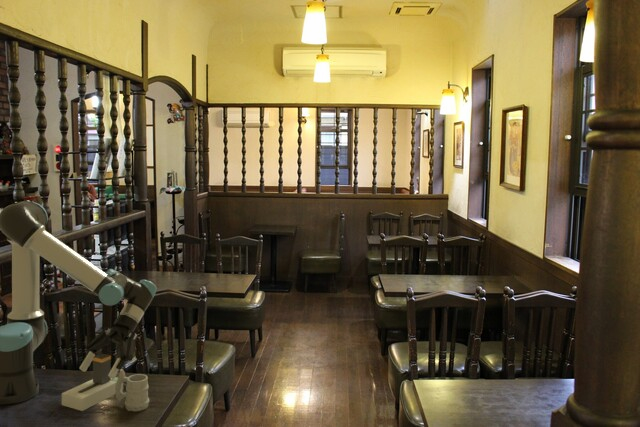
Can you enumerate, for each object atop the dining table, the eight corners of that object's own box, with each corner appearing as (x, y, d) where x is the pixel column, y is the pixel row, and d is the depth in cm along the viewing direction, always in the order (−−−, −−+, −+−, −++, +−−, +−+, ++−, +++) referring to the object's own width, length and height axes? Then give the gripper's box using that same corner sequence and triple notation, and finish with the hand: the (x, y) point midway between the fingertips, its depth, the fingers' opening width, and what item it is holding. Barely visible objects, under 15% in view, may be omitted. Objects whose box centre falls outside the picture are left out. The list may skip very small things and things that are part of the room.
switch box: (61, 405, 171) (61, 392, 171) (103, 384, 187) (103, 373, 187) (82, 411, 168) (82, 398, 167) (123, 389, 184) (123, 378, 184)
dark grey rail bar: (104, 383, 189) (104, 379, 189) (106, 381, 190) (106, 378, 190) (130, 389, 184) (130, 386, 184) (132, 388, 186) (132, 385, 185)
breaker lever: (92, 382, 179) (92, 356, 178) (101, 378, 183) (101, 353, 182) (101, 384, 178) (101, 359, 177) (110, 380, 182) (110, 355, 181)
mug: (141, 413, 168) (142, 377, 167) (108, 408, 170) (108, 373, 169) (153, 403, 175) (154, 368, 174) (121, 398, 177) (122, 364, 176)
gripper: (160, 329, 189) (129, 385, 176) (108, 319, 198) (75, 371, 185) (150, 318, 183) (118, 375, 171) (97, 308, 192) (63, 362, 180)
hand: (96, 373), depth 178 cm, fingers open, 12 cm apart
